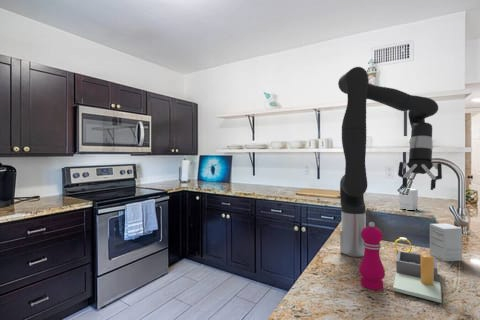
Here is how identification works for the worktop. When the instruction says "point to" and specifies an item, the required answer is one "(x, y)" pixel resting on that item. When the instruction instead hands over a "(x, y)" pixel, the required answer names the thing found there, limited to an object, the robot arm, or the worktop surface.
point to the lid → (420, 282)
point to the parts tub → (411, 264)
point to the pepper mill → (371, 258)
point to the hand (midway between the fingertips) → (418, 188)
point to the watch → (403, 240)
